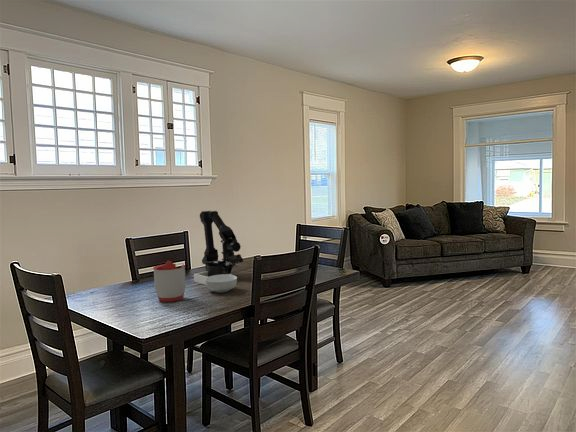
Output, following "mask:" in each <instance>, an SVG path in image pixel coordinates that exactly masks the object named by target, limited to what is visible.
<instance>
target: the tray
mask: <svg viewBox="0 0 576 432" xmlns="http://www.w3.org/2000/svg"><path fill="white" fill-rule="evenodd" d="M228 275H233V274H232V273H231V274H228ZM207 277H208V271H206V270H205V271H201V272H198V273H193V281H194V283H198V284H201V285H205V286H206V283H205V279H206V278H207Z"/></svg>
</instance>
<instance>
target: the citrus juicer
mask: <svg viewBox="0 0 576 432" xmlns="http://www.w3.org/2000/svg"><path fill="white" fill-rule="evenodd" d="M185 266H186V265H185V264H181V266H180V267H177V265H176V263H174V262H172V261H171V260H167V261H166V262H165V263H164V264H158V265H156V266H153V268H152V269H153V277H154V278H153V281H154V289H155V293H156V296H157V299H158V300H159V302H163V303H164V302H165V303H173V302H177V301H180V300H183V298H184V296H185V291H186V269H185Z"/></svg>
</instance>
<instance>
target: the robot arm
mask: <svg viewBox="0 0 576 432" xmlns="http://www.w3.org/2000/svg"><path fill="white" fill-rule="evenodd" d="M199 219H200V222H201V223H202V225H203V229H204V230H203V231H204V238H205V251H204V252H203V254H204V256H203V257H202V259H201V263H202V264H203V265H204V266H205V272H206V271H208V270H207V265H209V264H213V266H219V267H221V266H223V268H224V269H225V271H226V274H232V269H233V267H234V266H236V264H239V263H243V262H244V258H243V257H242V255H241V254H239V253H238V254H235V253H237V252H239V251H240V250H241V247H242V246H241V243H240V242H238V240H237V237H236V235H235V233H234V231H233V229H232V228H231V227H230V226H228V225H226V224H225V222H224V221H223V219H222V218H221V216H220V215H219V213H218V211H217V210H202V211H201V212H200V213H199ZM213 223H214V224H215V227H216V228H217V230H218V235H219V236H220V237H219V238H221V240H220V243H221V244H222V251H221V254H222V258H221V260H219V253H218V252H219V250H218V249H216V247H215V244H214V236H213V235H214V234H213V232H214V231H213Z"/></svg>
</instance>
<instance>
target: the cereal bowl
mask: <svg viewBox="0 0 576 432" xmlns="http://www.w3.org/2000/svg"><path fill="white" fill-rule="evenodd" d="M205 283H206V285H205V286H206V288H207V289H209V290H210V291H212V292H214V293H218V294H219V293H228V292H229V291H230V290H232V289H234V288H235V287H236V286H237V283H238V277H237V276H236V275H234V274H232V275H228V274H227V273H226V274H225V273H224V274H222V275H214V276H210V277H207V278H206V279H205Z"/></svg>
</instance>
